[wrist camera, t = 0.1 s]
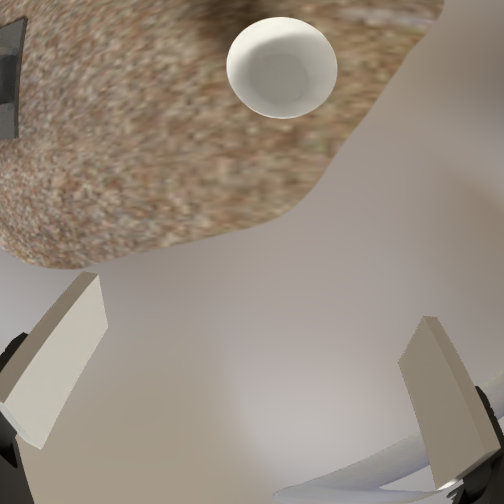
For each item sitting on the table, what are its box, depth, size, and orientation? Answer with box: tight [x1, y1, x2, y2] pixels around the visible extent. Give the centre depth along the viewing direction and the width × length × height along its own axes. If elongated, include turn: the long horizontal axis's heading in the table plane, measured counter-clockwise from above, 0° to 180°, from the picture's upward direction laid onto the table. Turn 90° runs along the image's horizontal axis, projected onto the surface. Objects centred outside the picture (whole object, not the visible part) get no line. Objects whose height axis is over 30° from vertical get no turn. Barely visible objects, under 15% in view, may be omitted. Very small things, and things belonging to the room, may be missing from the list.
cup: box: [227, 17, 337, 118], centre depth 26 cm, size 9×9×12 cm
